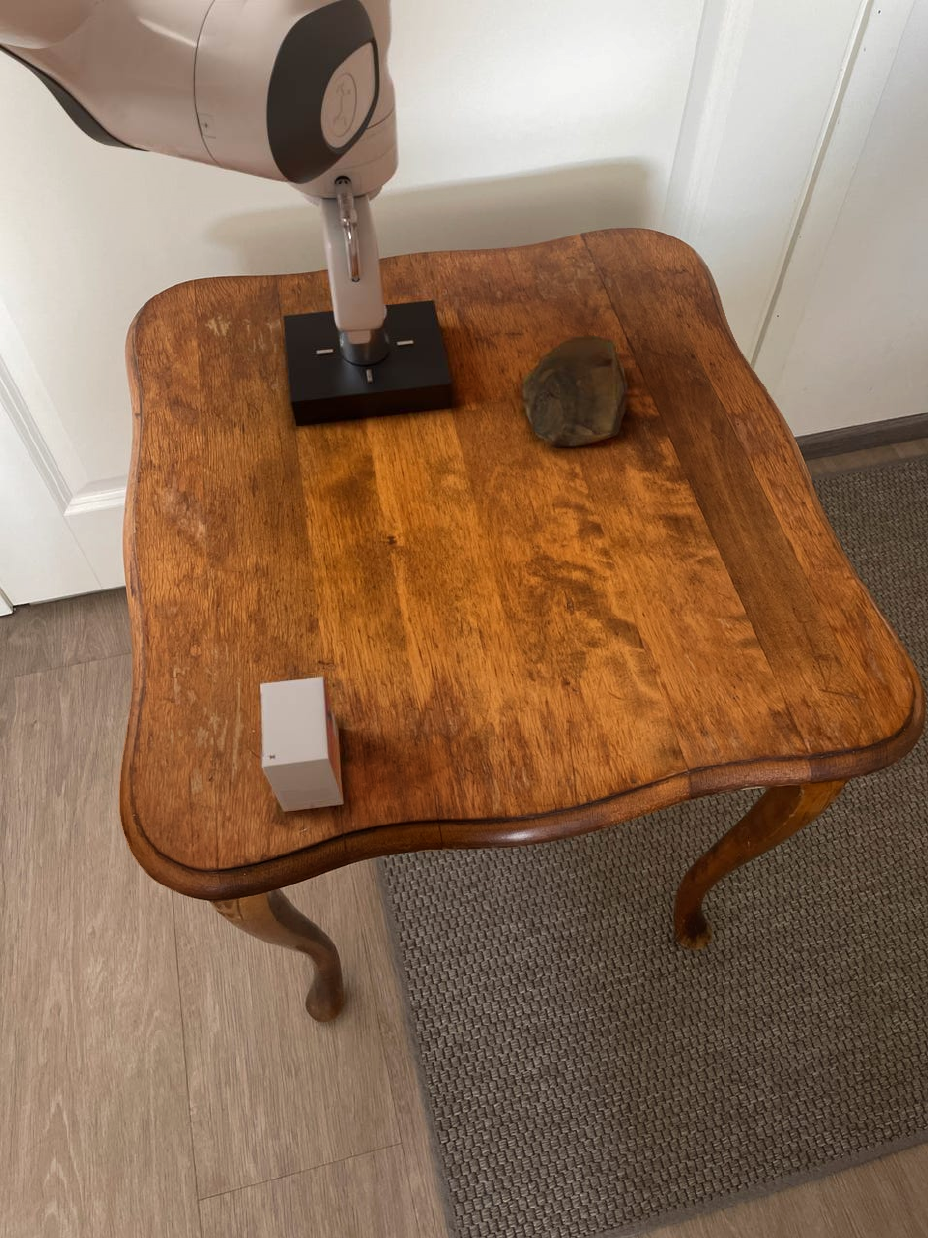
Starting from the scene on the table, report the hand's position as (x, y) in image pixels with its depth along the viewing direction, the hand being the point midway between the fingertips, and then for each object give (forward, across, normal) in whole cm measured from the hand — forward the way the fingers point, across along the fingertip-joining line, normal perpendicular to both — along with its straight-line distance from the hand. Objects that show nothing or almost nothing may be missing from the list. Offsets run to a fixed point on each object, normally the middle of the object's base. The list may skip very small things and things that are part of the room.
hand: (353, 299), depth 77 cm
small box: (+8, -38, +8) cm, 40 cm away
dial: (+5, 0, -1) cm, 5 cm away
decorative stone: (+8, -8, -19) cm, 22 cm away
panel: (+8, 0, -1) cm, 8 cm away
